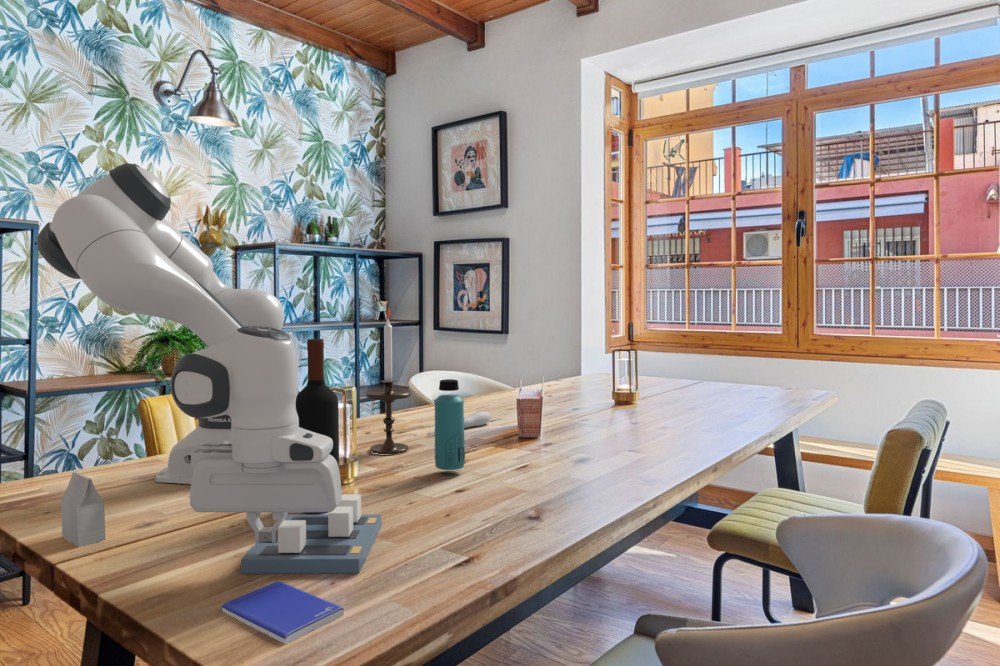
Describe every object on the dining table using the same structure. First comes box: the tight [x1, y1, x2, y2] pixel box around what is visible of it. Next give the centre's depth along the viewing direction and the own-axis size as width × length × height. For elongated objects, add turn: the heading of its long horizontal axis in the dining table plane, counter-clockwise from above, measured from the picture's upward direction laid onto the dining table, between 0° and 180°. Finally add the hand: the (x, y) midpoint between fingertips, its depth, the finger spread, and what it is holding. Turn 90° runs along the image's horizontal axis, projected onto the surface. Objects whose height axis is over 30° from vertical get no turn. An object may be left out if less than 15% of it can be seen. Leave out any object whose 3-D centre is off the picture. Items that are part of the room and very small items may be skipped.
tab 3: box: [327, 507, 353, 537], centre depth 98 cm, size 3×3×4 cm
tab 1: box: [278, 520, 306, 553], centre depth 92 cm, size 3×3×4 cm
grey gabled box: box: [60, 471, 106, 548], centre depth 101 cm, size 4×7×10 cm, turn 51°
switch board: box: [240, 514, 383, 575], centre depth 98 cm, size 16×18×2 cm
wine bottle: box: [296, 338, 340, 515], centre depth 116 cm, size 8×8×30 cm
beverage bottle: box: [433, 378, 466, 471], centre depth 139 cm, size 6×7×20 cm
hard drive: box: [221, 581, 345, 645], centre depth 78 cm, size 2×8×12 cm
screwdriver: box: [426, 410, 492, 436], centre depth 184 cm, size 5×25×4 cm, turn 139°
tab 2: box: [338, 493, 362, 522], centre depth 104 cm, size 3×3×4 cm
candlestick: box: [365, 306, 412, 455], centre depth 158 cm, size 11×11×35 cm
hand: (267, 541), depth 92 cm, fingers closed
